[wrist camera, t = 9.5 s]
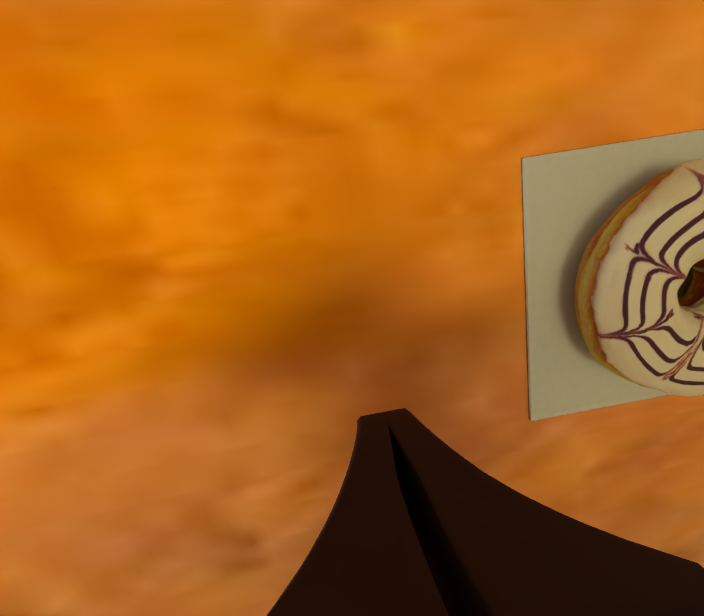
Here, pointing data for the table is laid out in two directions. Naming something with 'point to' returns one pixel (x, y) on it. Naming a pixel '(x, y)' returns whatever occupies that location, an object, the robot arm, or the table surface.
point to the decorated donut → (649, 285)
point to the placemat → (567, 251)
